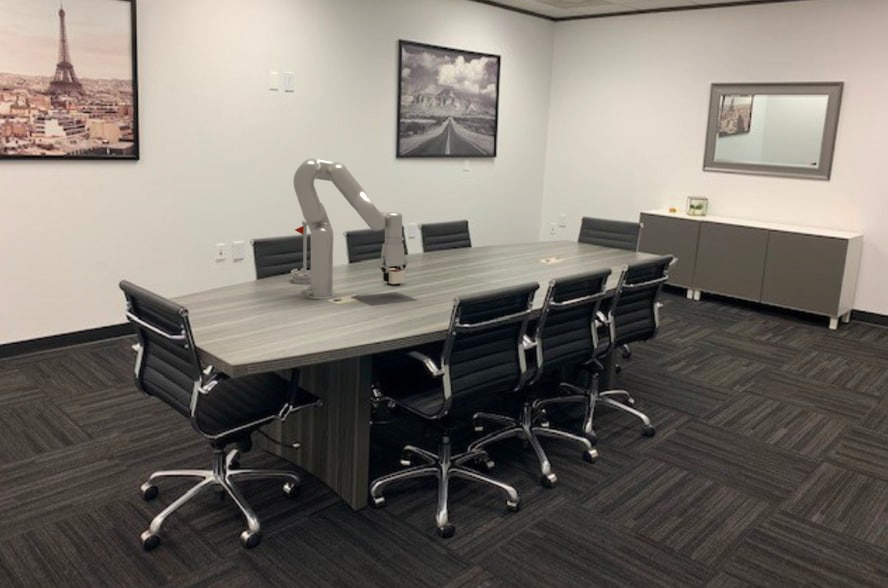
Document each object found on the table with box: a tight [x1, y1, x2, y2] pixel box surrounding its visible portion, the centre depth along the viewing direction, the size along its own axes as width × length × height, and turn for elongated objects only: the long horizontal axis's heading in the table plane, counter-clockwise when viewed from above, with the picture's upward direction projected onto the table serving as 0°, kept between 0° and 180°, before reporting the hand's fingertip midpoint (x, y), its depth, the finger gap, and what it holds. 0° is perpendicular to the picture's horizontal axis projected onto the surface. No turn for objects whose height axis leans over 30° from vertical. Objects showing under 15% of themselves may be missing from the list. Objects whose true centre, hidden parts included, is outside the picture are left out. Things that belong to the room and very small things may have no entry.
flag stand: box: [290, 219, 311, 285], centre depth 347 cm, size 13×13×30 cm
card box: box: [381, 268, 406, 284], centre depth 323 cm, size 9×6×5 cm
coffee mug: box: [386, 266, 401, 287], centre depth 354 cm, size 12×9×10 cm
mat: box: [350, 291, 417, 307], centre depth 321 cm, size 24×18×1 cm
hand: (393, 280), depth 323 cm, fingers closed on card box, 6 cm apart
